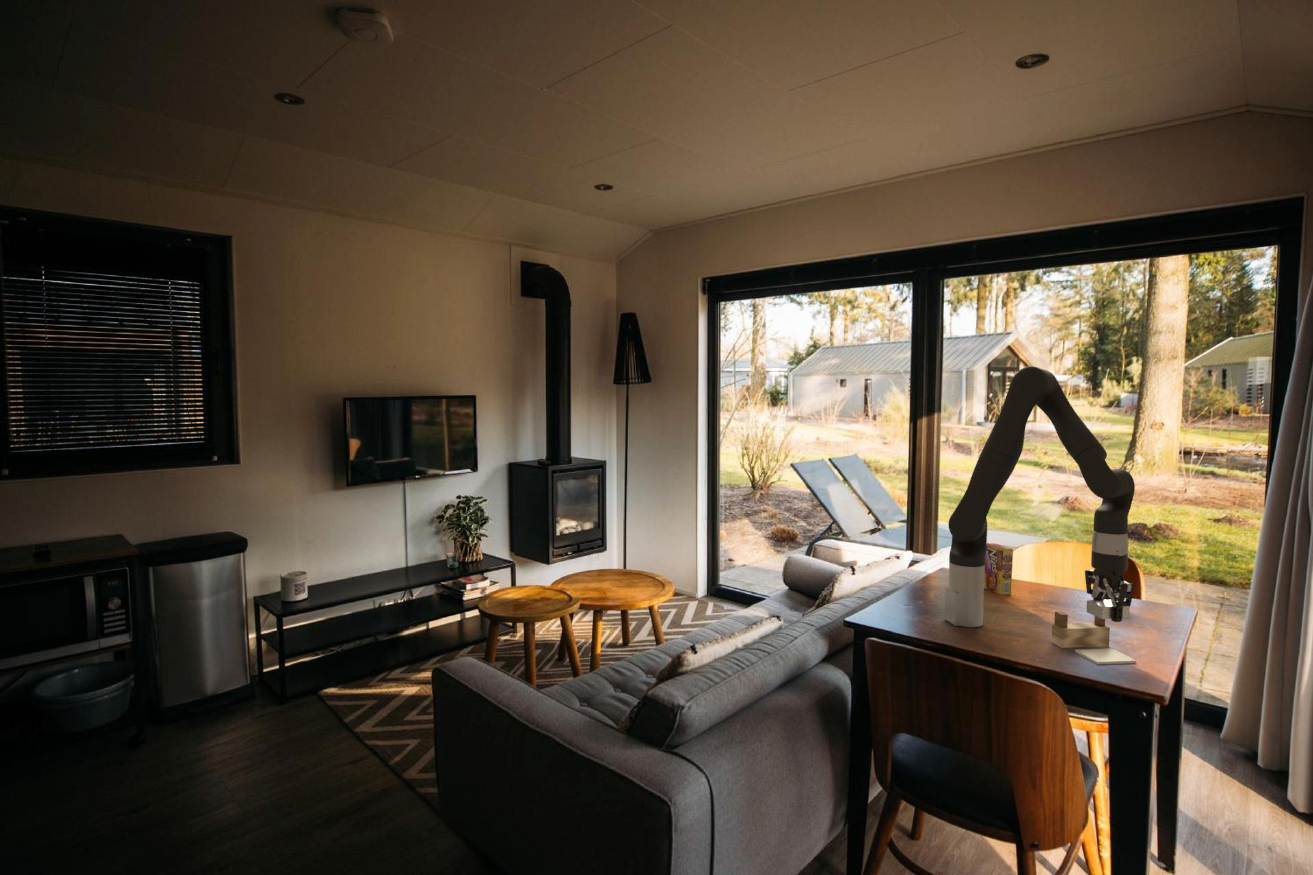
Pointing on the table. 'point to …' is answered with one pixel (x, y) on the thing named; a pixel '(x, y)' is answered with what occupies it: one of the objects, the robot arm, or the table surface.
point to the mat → (1105, 656)
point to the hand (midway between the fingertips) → (1107, 617)
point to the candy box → (998, 568)
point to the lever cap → (1104, 609)
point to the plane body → (1079, 632)
